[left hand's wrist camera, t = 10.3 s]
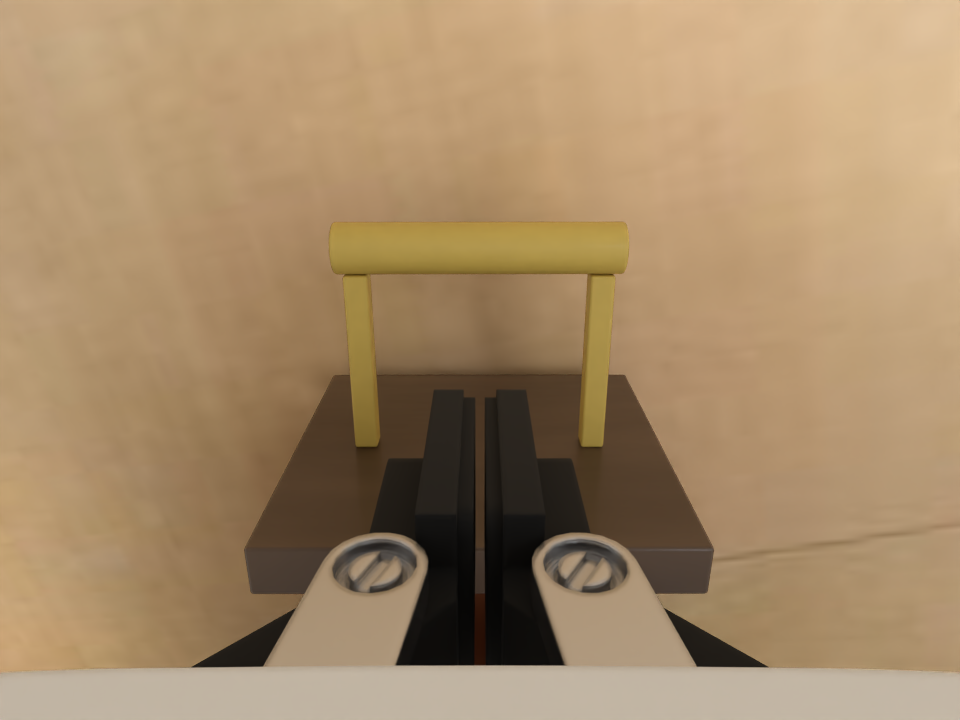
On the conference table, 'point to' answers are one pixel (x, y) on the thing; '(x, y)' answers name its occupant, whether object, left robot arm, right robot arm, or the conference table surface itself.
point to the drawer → (478, 413)
